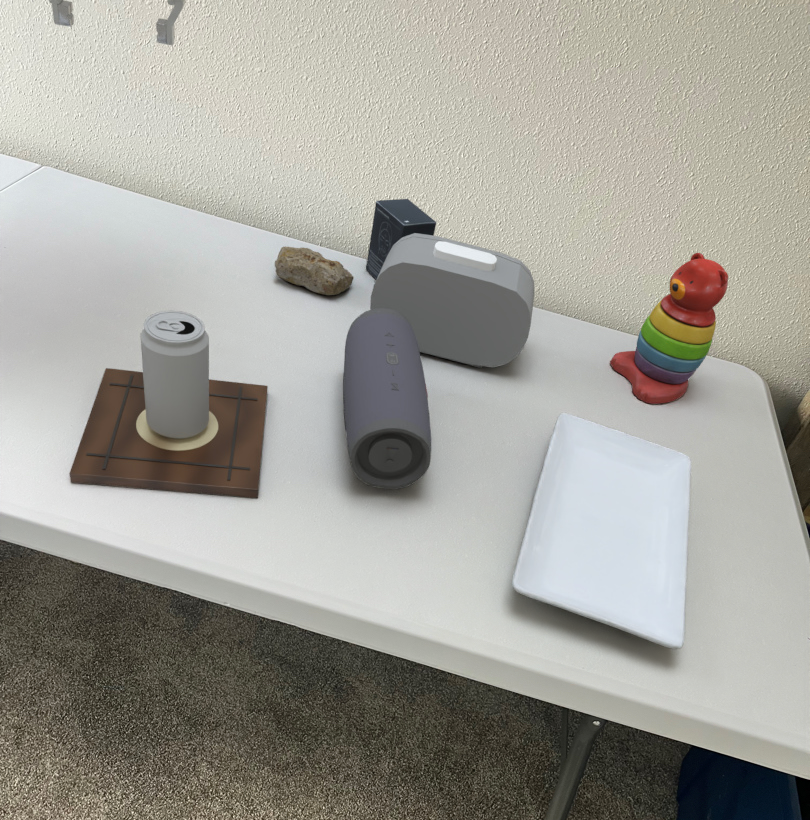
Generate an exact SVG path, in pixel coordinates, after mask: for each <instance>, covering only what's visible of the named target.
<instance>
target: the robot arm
mask: <svg viewBox="0 0 810 820" xmlns="http://www.w3.org/2000/svg"><path fill="white" fill-rule="evenodd" d="M186 1H187V0H167V5H169V6H173V8H172V9H171V11H170V13H169V15H168V17H167V18H160V17H159V18H158V19H157V21H156V23H155V26H156V27H155V29H156V33H157V34H156V43H157V44H161V45H168V46H172V47H173V46H174V44H175V40H176V39H175V37H176V36H175V23H176V21H177V20H178V17H179V15H180V14H181V12H182V10H183V8H184V6H185V5H186ZM48 2H49V4H51V9H52V17H53V23H54V25H58V26H63V27H70V28H72V27H73V26H74V25H75V24H74V23H75V17H74V16H75V15H74V14H73V11H74V6H73V1H69V0H48Z"/></svg>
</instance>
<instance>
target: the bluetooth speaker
mask: <svg viewBox="0 0 810 820" xmlns="http://www.w3.org/2000/svg"><path fill="white" fill-rule="evenodd" d="M344 345H345V346H344V359H343V373H342V375H343V379H342V401H343V423H344V430H345V435H346V444H347V445H346V448H347V452H348V459H349V461H350V462H349V463H350V466H351V469H352V471H353V473H354V475H355V476H356V477H357V478H358V480H360V481H361V482H362V483H364V484H366V485H368V486H369V487H373V488H380V489H391V490H392V489H393V490H394V489H403V488H406V487H409V486H411V485H413V484H415V483H416V482H418V481H419V480H420V479H422V477H423V476H425V474H426V473H427V471H428V470H429V467H430V465H431V459H432V458H431V457H432V433H431V420H430V419H431V417H430V409H429V399H428V398H429V395H428V389H427V385H426V378H425V372H424V369H423V368H424V366H423V363H422V357H421V352H419V348H418V343H417V340H416V337H415V334H414V331H413V329H412V327H411V325H410V323H409V322H408V320H407V319H406V318H405V317H404V316H403V315H402V314H400V313H399V312H396V311H394V310H391V309H386V308H376V309H371V310H370V309H368V310H365V311H364V312H363V313H361V314H359V316H357V317H356V318H355V319H354V321H352V323H351V325H350V326H349V328H348V330H347V334H346V339H345V344H344Z"/></svg>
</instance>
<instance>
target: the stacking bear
mask: <svg viewBox="0 0 810 820" xmlns="http://www.w3.org/2000/svg"><path fill="white" fill-rule="evenodd" d="M669 279H670V280H669V294H667V295H665V296H664V297H663V298H662V299H661V300H660V301H658V303H657V304H656V305H655V306H654V308H653V309H652V311H651V313H650V314H648V316H647V318H645V320H644V322H643V324H642V326H641V328H640V331H639V333H638V337H637V340H636V347H635V350H626V351H619V352H616V353H614V354H613V356H612V358H611V359H610V361H609V364H610V366H611V367H612V369H613V370H614V371H615V372H617V373H618V374H620V375H622V376H624V377H625V378H626V379H627V380H628V382H629V383H630V384H631V387H632V393H633V394H634V396H635V397H636V398H637V399H638V400H640V401H642V402H644V403H647V404H653V405H654V404H656V405H657V404H667V403H671V402H674V401H676V400H679V399H680V398H681V397H683V396H684V395H685V394H686V392H687V390H688V387H689V379H690V378H691V377H692V376H693V375H694V373H695V372H696V371H697V370H698V369H699V368H700V366H701V365H702V363H703V362H704V361H705V359H706V357H707V355H708V354H709V351H710V349H711V346H712V343H713V338H714V335H715V331H716V325H717V320H716V319H717V317H716V313H715V312H716V311H715V310H714V308H715V307H716V306H717V305H718V304H719V303H720V302H721V301H722V300H723V298H724V296H725V295H726V292H727V289H728V285H729V284H728V283H729V282H728V281H729V274H728V272H727V271H726V270H725V268H724V267H723V266H722V265H721V264H720V263H718V262H716V261H714V260H712V259H708V258H705V255H703V254H702V253H701V252H695V253H693V254H692V255H691V257H690V260H688V261H687V262H685V263H683V264H681V266H679V267H678V268H677V269H676V270H675V271H674V272H673V274H672V275H671V277H670V278H669Z"/></svg>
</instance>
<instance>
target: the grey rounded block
mask: <svg viewBox="0 0 810 820" xmlns="http://www.w3.org/2000/svg"><path fill="white" fill-rule="evenodd" d="M534 302H535V280H534V277H533V275H532V272H531V270H530V269H529V268H528V267H527V265H526V264H525V263H524V262H523V261H522V260H521V259H519V258H516V257H513V256H511V255H508V254H506V253H503V252H500V251H497V250H493V249H489V248H485V247H482V246H479V245H478V246H477V245H473V244H469V243H465V242H463V241H458V240H454V239H450V238H447V237H442V236H439V235H434V236H433V235H425V234H418V233H414V234H411V235H408V236H405V237H402V238H401V239H400V240H399V241H397V242H396V243H395V244H394V245H393V246H392V248H391V250H390V252H389V254H388V255H387V257H386V260H385V262H384V264H383V266H382V269H381V271H380V273H379V275H378V277H377V279H375V282H374V284H373V287H372V290H371V295H370V303H369V304H370V305H369V310H371V309H376V308H386V309H391V310H394V311H396V312H399V313H400V314H402V315H403V316H404V317H405V318H406V319H407V320H408V322H409V323H410V325H411V327H412V329H413V331H414V334H415V337H416V340H417V343H418V348H419V352H420V354H425V355H428V356H429V355H430V356H433V357H437V358H441V359H444V360H448V361H453V362H457V363H460V364H465V365H469V366H472V367H476V368H479V369H482V368H483V367H488V368H495V367H499V366H504V365H507V364H509V363H510V362H511V361H513V360H514V359H516V358H517V357H518V356H519V354H520V353H521V351H522V350H523V349H524V348H525V345H526V343H527V341H528V338H529V335H530V331H531V330H530V329H531V326H532V316H533V309H534Z"/></svg>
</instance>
